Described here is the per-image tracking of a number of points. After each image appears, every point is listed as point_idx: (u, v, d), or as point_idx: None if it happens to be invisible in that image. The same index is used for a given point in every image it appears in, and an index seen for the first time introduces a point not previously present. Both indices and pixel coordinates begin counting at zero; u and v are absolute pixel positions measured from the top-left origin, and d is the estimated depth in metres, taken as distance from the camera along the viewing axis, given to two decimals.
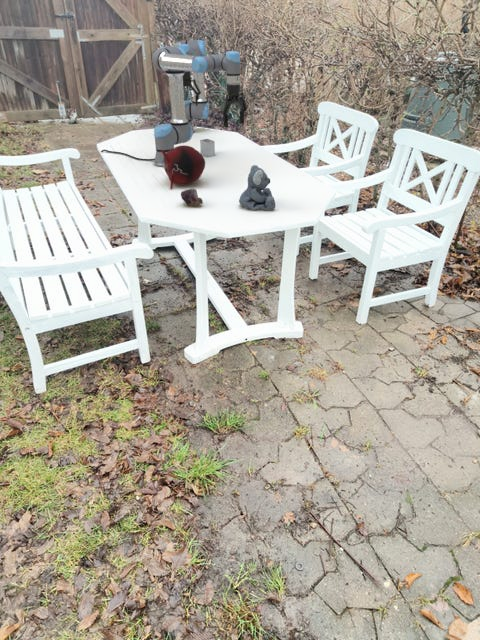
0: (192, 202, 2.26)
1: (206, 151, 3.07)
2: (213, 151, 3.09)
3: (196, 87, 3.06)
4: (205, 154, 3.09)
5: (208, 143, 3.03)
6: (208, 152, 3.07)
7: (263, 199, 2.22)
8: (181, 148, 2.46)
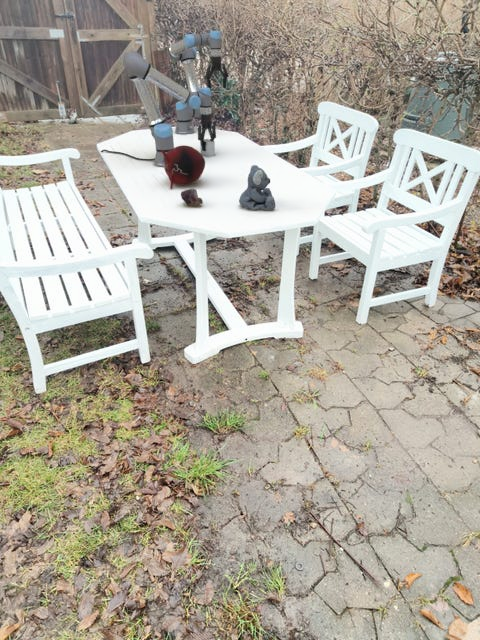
0: (192, 202, 2.26)
1: (206, 151, 3.07)
2: (213, 151, 3.09)
3: (225, 70, 3.32)
4: (205, 154, 3.09)
5: (208, 143, 3.03)
6: (208, 152, 3.07)
7: (263, 199, 2.22)
8: (181, 148, 2.46)
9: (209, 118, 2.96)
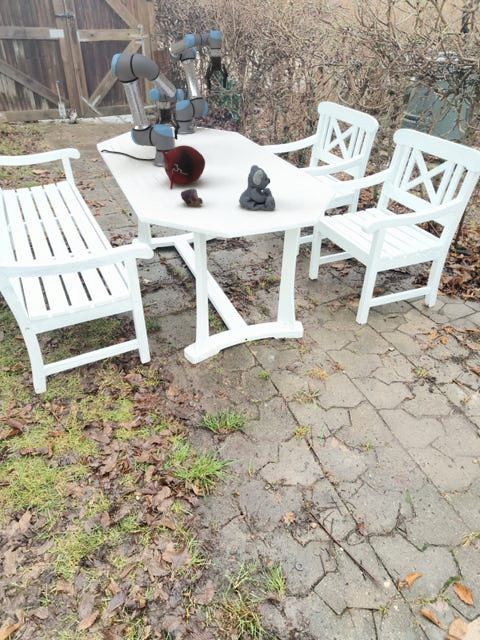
0: (192, 202, 2.26)
1: None
2: None
3: (225, 70, 3.32)
4: None
5: None
6: None
7: (263, 199, 2.22)
8: (181, 148, 2.46)
9: (168, 112, 3.06)
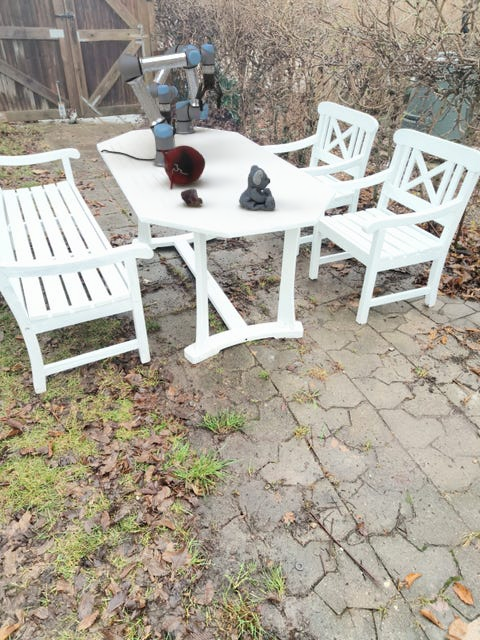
0: (192, 202, 2.26)
1: None
2: None
3: (174, 127, 3.17)
4: None
5: None
6: None
7: (263, 199, 2.22)
8: (181, 148, 2.46)
9: (212, 77, 2.81)
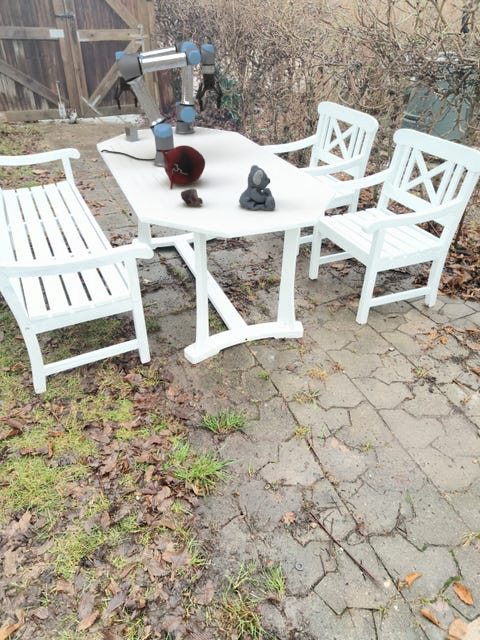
0: (192, 202, 2.26)
1: (130, 136, 3.45)
2: (136, 136, 3.46)
3: None
4: (129, 139, 3.47)
5: (131, 129, 3.41)
6: (132, 138, 3.45)
7: (263, 199, 2.22)
8: (181, 148, 2.46)
9: (212, 77, 2.81)
